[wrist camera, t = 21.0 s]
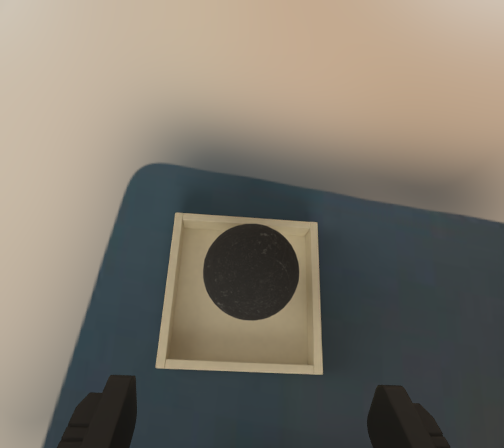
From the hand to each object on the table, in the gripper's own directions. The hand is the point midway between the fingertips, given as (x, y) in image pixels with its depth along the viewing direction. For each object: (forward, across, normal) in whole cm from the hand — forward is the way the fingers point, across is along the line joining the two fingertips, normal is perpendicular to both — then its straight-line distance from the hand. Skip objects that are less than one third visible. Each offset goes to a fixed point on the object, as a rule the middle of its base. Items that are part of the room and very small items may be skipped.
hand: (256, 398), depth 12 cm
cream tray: (+15, 0, +6) cm, 16 cm away
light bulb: (+15, 0, +6) cm, 16 cm away
